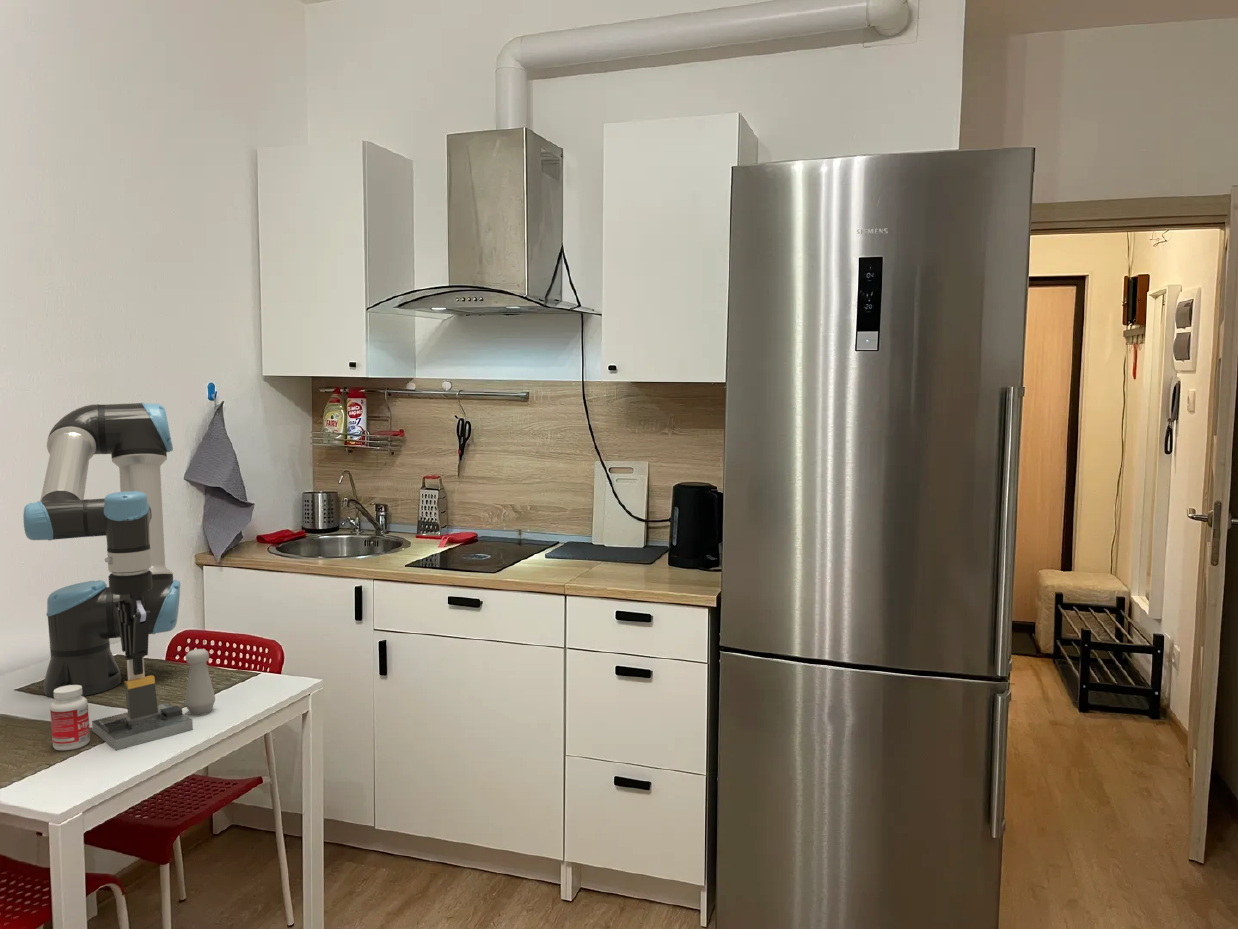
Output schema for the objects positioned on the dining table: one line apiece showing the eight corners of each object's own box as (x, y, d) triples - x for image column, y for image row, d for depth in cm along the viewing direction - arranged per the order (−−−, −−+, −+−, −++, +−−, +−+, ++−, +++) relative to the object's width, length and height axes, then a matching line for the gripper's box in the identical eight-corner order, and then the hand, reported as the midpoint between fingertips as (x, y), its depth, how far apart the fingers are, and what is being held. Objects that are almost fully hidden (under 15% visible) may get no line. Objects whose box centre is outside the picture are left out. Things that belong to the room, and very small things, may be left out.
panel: (92, 731, 186) (91, 716, 186) (166, 712, 196) (165, 698, 196) (116, 750, 176) (115, 734, 176) (192, 729, 186) (191, 714, 186)
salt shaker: (204, 717, 193) (200, 655, 191) (179, 716, 194) (175, 654, 193) (221, 707, 198) (218, 647, 197) (197, 706, 200) (193, 646, 198)
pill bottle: (84, 749, 177) (80, 692, 176) (48, 753, 176) (43, 695, 174) (94, 737, 183) (90, 682, 182) (59, 740, 182) (55, 684, 181)
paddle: (125, 723, 184) (121, 682, 184) (158, 715, 188) (154, 674, 188) (128, 724, 183) (124, 682, 182) (161, 716, 187) (157, 675, 187)
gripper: (98, 569, 186) (105, 686, 188) (120, 579, 177) (127, 702, 179) (139, 564, 191) (145, 677, 193) (162, 573, 182) (169, 692, 184)
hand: (137, 689), depth 186 cm, fingers closed
